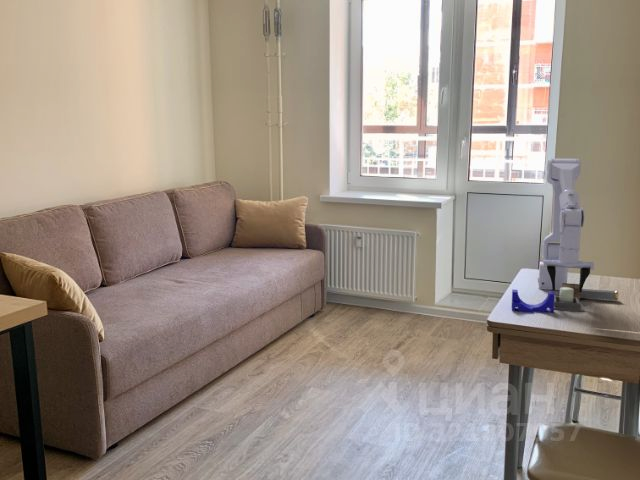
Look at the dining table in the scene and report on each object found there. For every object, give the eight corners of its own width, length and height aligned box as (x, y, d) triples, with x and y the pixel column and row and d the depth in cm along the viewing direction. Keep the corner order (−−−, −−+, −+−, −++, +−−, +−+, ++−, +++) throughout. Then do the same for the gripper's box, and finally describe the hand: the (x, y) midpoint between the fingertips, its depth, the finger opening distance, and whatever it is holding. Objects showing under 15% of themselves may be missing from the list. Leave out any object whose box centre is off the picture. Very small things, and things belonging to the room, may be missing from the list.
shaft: (571, 298, 215) (572, 289, 215) (570, 295, 218) (571, 286, 217) (617, 301, 211) (618, 292, 211) (616, 299, 214) (617, 289, 214)
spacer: (559, 306, 206) (560, 290, 205) (558, 302, 210) (559, 287, 209) (573, 306, 205) (574, 291, 204) (571, 303, 209) (572, 287, 208)
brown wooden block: (562, 300, 214) (563, 287, 214) (561, 294, 220) (562, 283, 220) (579, 301, 213) (580, 289, 212) (577, 295, 219) (578, 284, 218)
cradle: (549, 309, 205) (549, 302, 204) (548, 300, 214) (548, 294, 214) (584, 311, 202) (584, 305, 201) (581, 302, 211) (582, 296, 211)
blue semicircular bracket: (511, 312, 202) (512, 293, 201) (511, 308, 207) (512, 289, 205) (553, 315, 199) (555, 295, 198) (552, 310, 204) (553, 291, 203)
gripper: (545, 248, 203) (542, 292, 205) (596, 251, 199) (593, 295, 201) (544, 244, 209) (541, 286, 212) (594, 246, 205) (590, 289, 208)
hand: (566, 290), depth 207 cm, fingers open, 7 cm apart
